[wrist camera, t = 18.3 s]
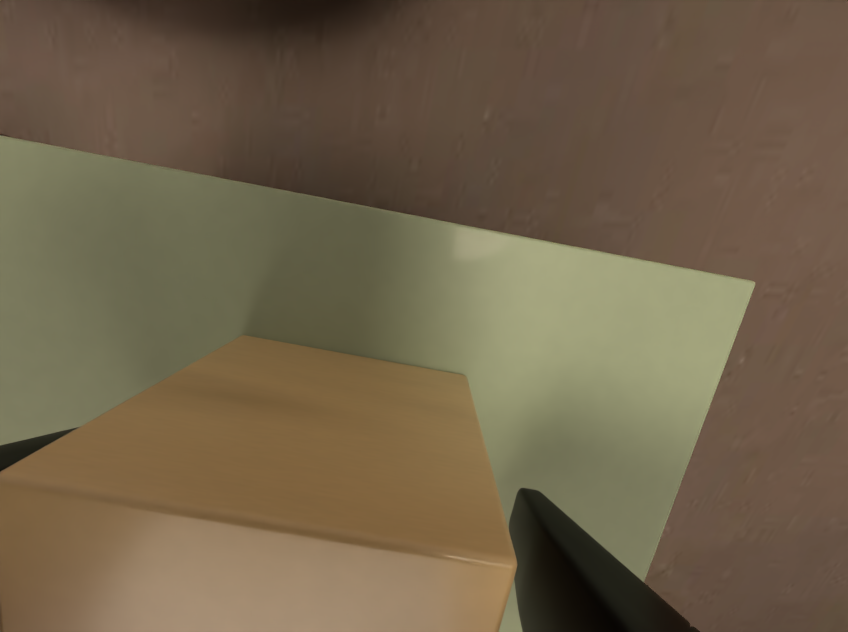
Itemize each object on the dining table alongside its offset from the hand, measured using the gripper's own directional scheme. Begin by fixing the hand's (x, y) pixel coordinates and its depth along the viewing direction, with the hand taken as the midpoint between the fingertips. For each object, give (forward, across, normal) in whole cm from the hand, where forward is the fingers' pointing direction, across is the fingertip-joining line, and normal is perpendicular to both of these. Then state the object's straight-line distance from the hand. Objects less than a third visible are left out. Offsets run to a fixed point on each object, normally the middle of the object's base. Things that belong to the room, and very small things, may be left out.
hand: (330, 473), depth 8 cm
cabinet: (+10, 0, 0) cm, 10 cm away
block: (+1, 0, 0) cm, 1 cm away
